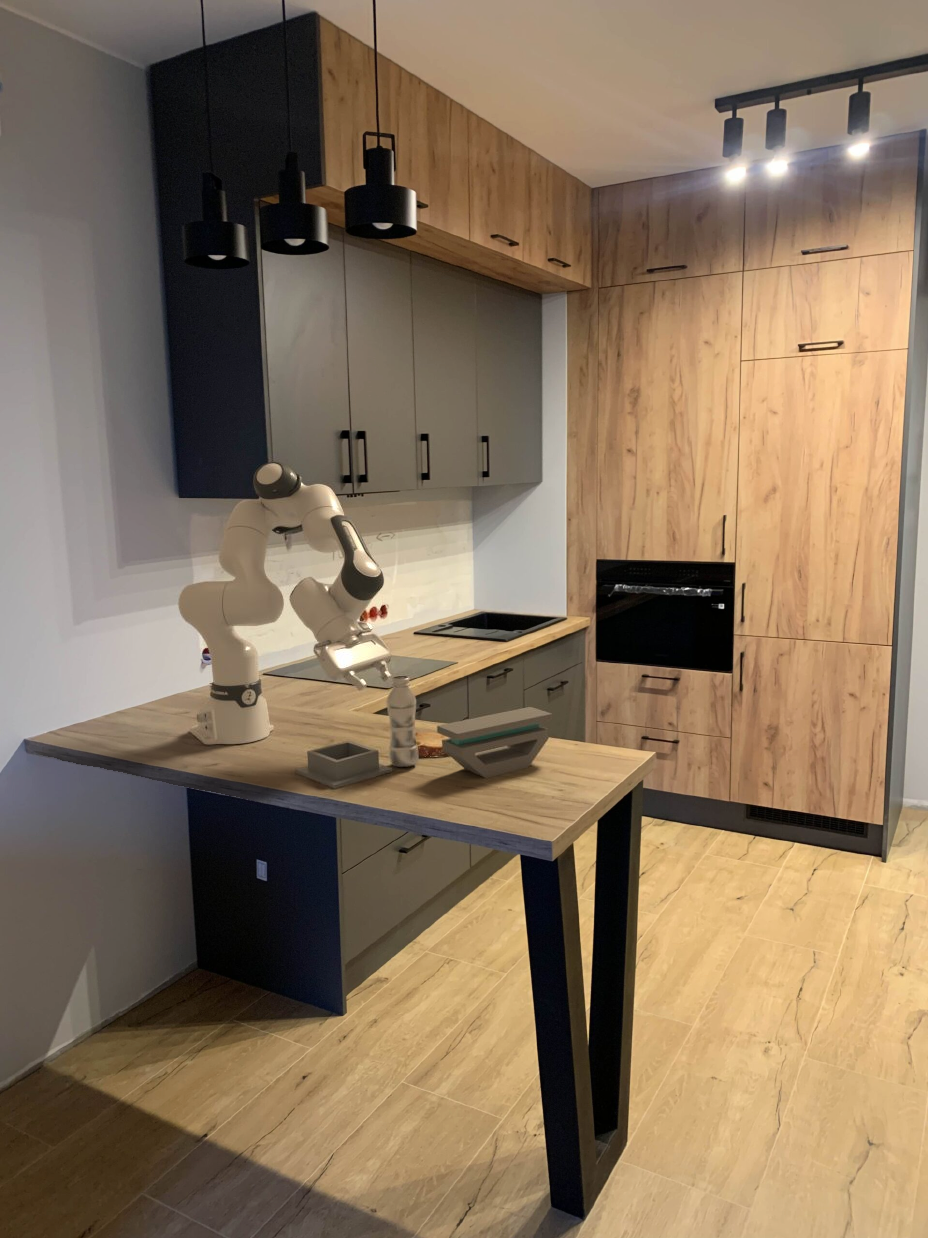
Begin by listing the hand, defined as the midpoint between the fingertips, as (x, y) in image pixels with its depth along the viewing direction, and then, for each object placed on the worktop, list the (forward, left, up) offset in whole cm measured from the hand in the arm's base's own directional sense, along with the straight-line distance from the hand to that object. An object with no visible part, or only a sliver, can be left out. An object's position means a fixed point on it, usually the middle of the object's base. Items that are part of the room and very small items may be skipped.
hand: (376, 683), depth 208 cm
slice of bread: (+3, +17, -18) cm, 25 cm away
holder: (+1, -11, -18) cm, 21 cm away
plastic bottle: (+7, +1, -18) cm, 19 cm away
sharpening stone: (+23, +14, -18) cm, 33 cm away
